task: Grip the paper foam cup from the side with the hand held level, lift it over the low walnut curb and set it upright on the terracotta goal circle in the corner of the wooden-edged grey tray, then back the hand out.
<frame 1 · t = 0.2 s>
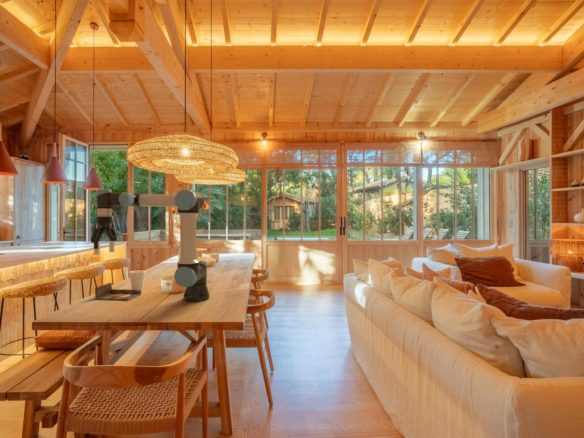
hand: (104, 253, 188), 28 cm above the table, tool pointing down, fingers open, 13 cm apart
foam cup: (137, 291, 215), on the table
wooden-edged grey tray: (120, 297, 199), on the table
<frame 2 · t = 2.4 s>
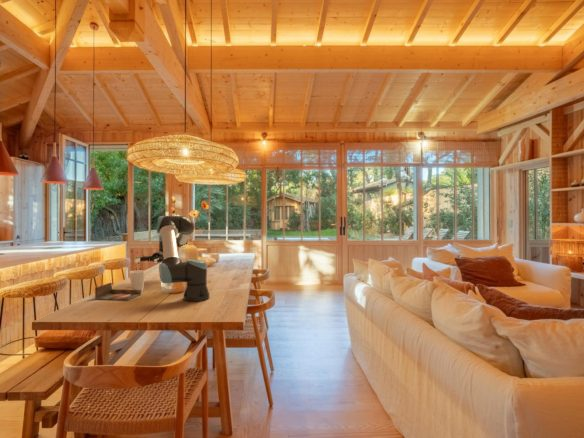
hand: (144, 261, 224), 18 cm above the table, tool horizontal, fingers open, 13 cm apart
nothing on the table moved.
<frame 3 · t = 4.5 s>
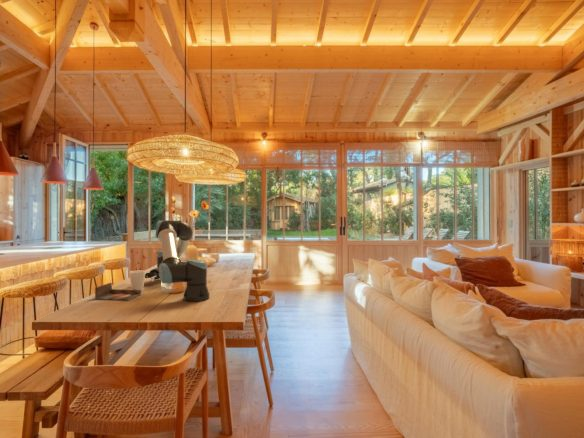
hand: (141, 279, 221), 7 cm above the table, tool horizontal, fingers open, 13 cm apart
nothing on the table moved.
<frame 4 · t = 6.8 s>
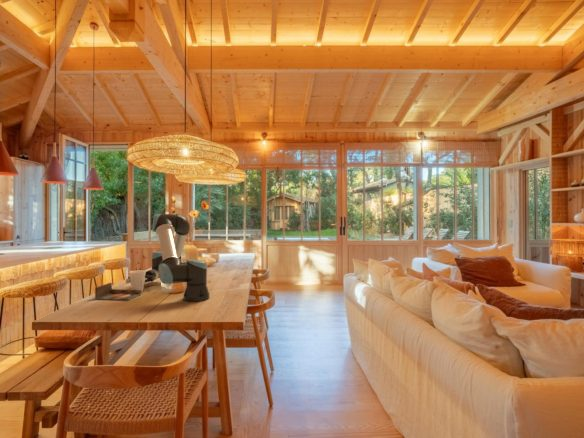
hand: (134, 281, 210), 7 cm above the table, tool horizontal, fingers closed on foam cup, 9 cm apart
foam cup: (137, 291, 215), on the table, touching gripper
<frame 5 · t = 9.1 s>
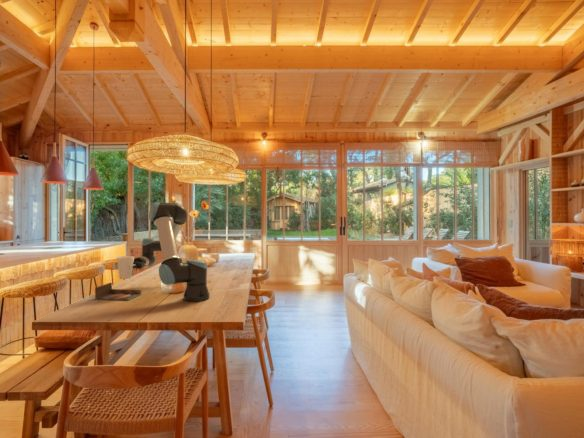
hand: (121, 267, 200), 18 cm above the table, tool horizontal, fingers closed on foam cup, 9 cm apart
foam cup: (125, 278, 204), point 11 cm above the table, touching gripper
when the fingers open (9 cm above the table, at t = 11.7 s): foam cup drops 1 cm, resting on wooden-edged grey tray.
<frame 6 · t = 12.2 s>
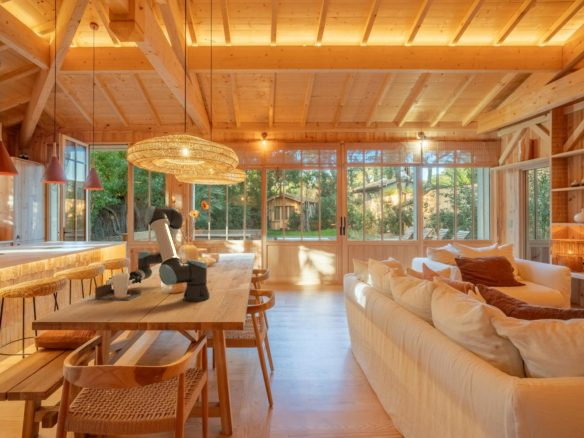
hand: (117, 283, 196), 9 cm above the table, tool horizontal, fingers open, 13 cm apart
foam cup: (120, 296, 199), point 1 cm above the table, touching wooden-edged grey tray
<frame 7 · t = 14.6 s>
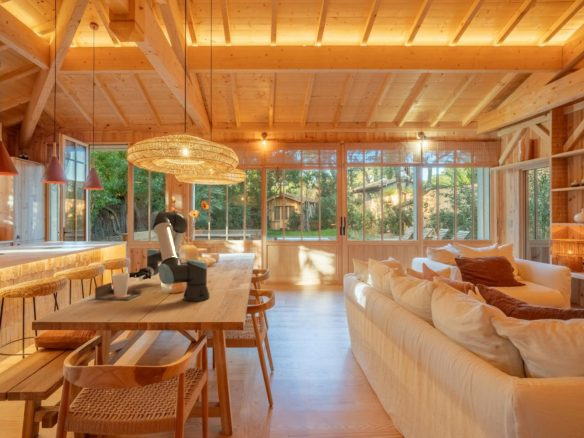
hand: (129, 278, 208), 9 cm above the table, tool horizontal, fingers open, 13 cm apart
nothing on the table moved.
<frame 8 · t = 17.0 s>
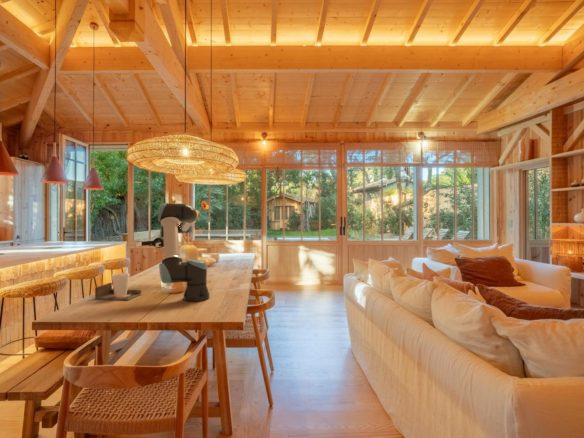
hand: (146, 245, 217), 30 cm above the table, tool horizontal, fingers open, 13 cm apart
nothing on the table moved.
at the end: foam cup 0.1 cm off-centre on the wooden-edged grey tray, point 0.7 cm above the wooden-edged grey tray's base; foam cup tilted 0°; the gripper is holding nothing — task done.
